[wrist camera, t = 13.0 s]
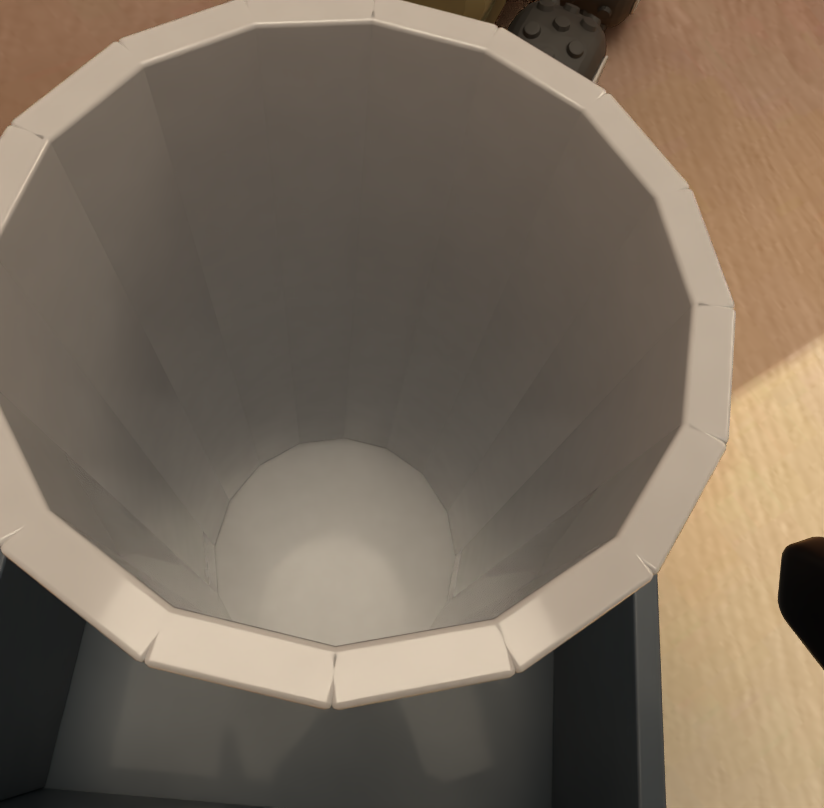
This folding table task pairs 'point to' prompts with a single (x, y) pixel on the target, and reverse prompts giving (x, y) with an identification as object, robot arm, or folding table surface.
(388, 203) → the tumbler
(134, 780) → the open box
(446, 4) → the toy vehicle
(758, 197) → the folding table surface
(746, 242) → the folding table surface
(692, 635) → the folding table surface
